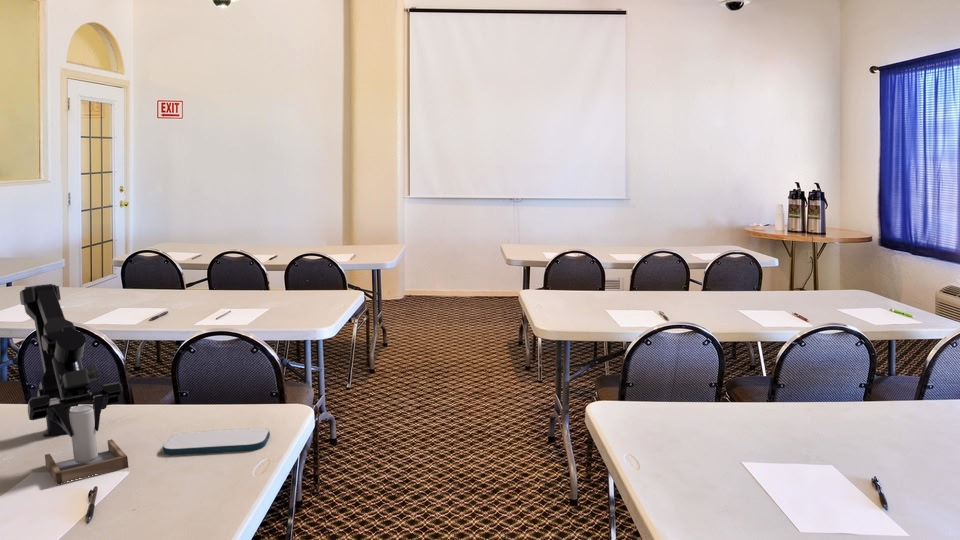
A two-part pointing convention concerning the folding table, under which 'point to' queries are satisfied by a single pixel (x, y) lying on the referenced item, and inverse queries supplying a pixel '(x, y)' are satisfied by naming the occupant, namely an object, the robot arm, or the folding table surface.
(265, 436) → the external hard drive
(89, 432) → the beverage can
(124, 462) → the bay
